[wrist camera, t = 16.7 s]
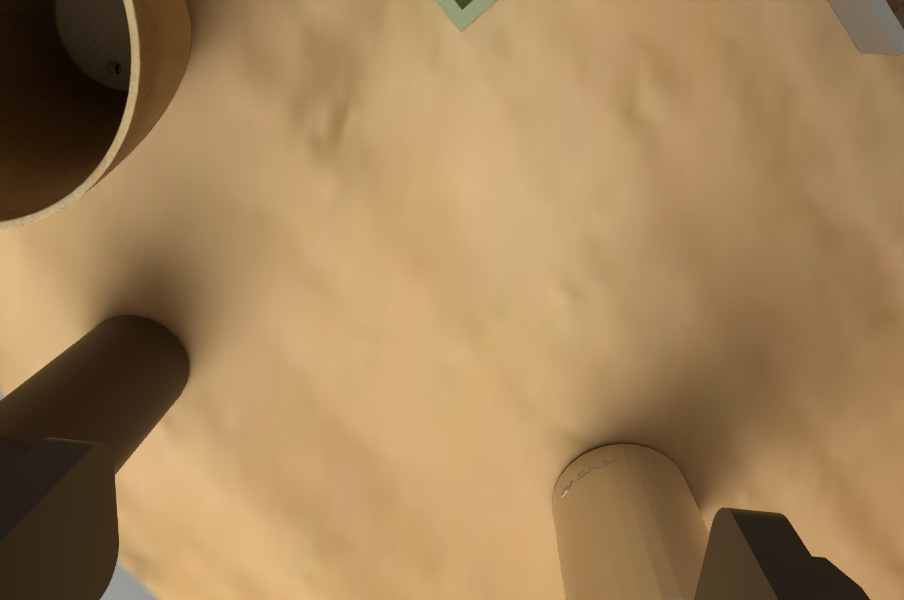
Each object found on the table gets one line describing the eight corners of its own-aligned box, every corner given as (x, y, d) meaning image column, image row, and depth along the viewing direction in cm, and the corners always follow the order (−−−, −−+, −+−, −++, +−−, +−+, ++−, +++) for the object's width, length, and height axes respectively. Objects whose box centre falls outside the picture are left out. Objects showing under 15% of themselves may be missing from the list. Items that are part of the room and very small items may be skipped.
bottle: (210, 355, 48) (34, 567, 29) (157, 426, 49) (-41, 668, 31) (119, 292, 46) (-127, 471, 27) (68, 367, 48) (-195, 583, 29)
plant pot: (-27, 100, 42) (-305, 138, 27) (25, -177, 38) (-279, -314, 23) (218, 202, 44) (82, 291, 29) (299, -51, 39) (186, -101, 24)
